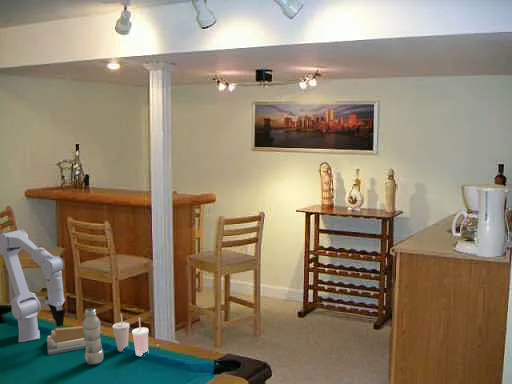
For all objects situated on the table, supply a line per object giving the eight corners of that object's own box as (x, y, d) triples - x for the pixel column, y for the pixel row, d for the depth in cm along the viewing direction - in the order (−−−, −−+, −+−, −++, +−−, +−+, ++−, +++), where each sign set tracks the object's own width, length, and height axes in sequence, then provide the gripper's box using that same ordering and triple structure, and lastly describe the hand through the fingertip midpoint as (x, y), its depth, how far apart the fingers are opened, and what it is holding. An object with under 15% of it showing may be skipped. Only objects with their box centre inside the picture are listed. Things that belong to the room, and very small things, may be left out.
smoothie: (127, 353, 213) (124, 317, 211) (111, 352, 215) (108, 317, 213) (134, 346, 220) (131, 311, 218) (118, 345, 221) (115, 310, 219)
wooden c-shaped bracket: (50, 336, 225) (51, 323, 225) (81, 333, 231) (82, 321, 231) (55, 343, 218) (56, 330, 218) (87, 340, 225) (87, 327, 224)
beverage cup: (138, 358, 209) (136, 321, 207) (130, 353, 213) (127, 317, 211) (153, 353, 213) (150, 317, 210) (145, 348, 217) (142, 313, 215)
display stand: (46, 341, 228) (46, 333, 227) (91, 333, 234) (90, 325, 234) (48, 355, 215) (47, 346, 214) (94, 346, 221) (94, 338, 221)
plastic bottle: (87, 368, 202) (82, 314, 199) (84, 361, 208) (79, 308, 205) (106, 364, 205) (101, 310, 202) (101, 357, 211) (97, 305, 208)
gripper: (41, 285, 223) (44, 318, 226) (46, 296, 211) (50, 331, 213) (60, 282, 227) (63, 315, 229) (66, 292, 214) (69, 327, 216)
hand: (58, 322), depth 221 cm, fingers open, 7 cm apart
